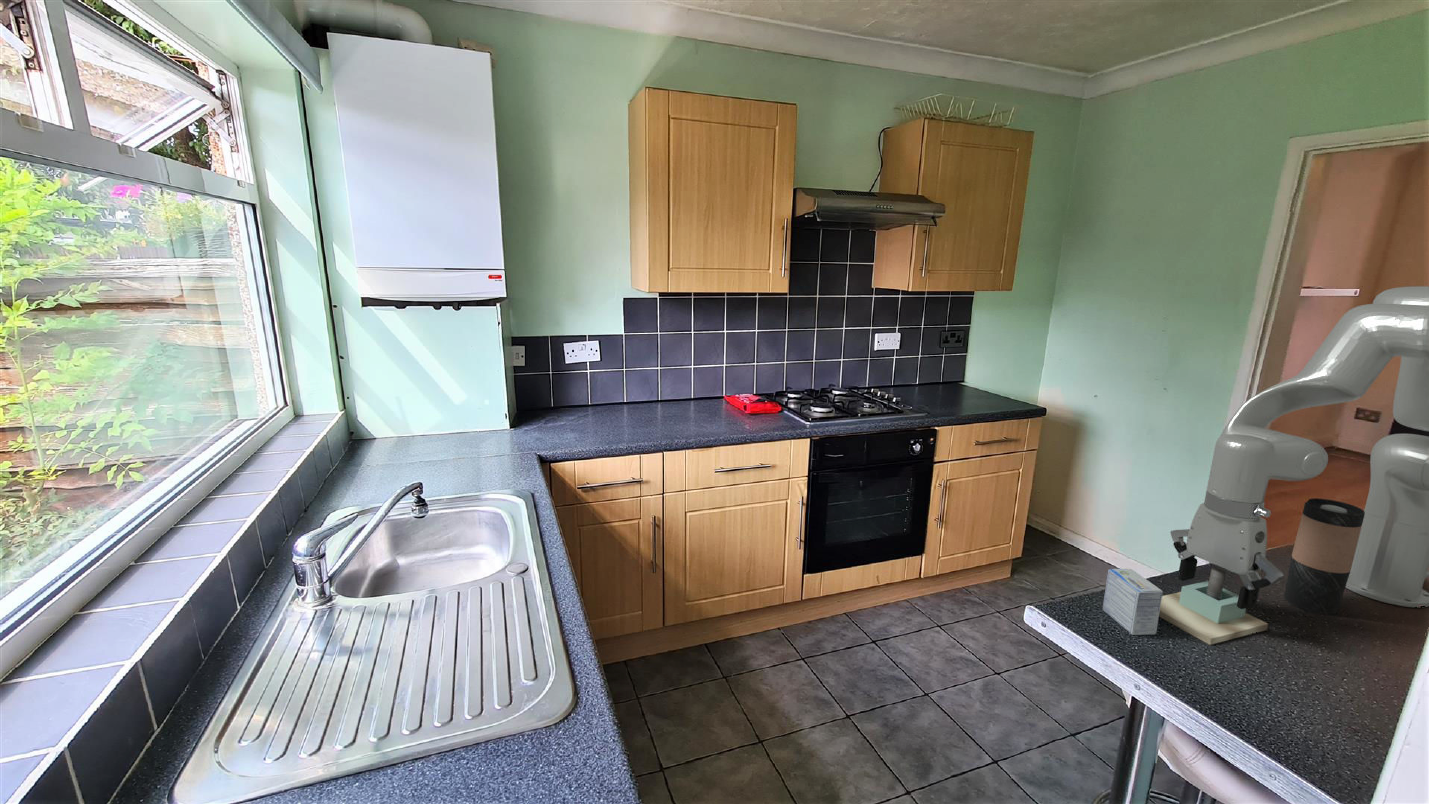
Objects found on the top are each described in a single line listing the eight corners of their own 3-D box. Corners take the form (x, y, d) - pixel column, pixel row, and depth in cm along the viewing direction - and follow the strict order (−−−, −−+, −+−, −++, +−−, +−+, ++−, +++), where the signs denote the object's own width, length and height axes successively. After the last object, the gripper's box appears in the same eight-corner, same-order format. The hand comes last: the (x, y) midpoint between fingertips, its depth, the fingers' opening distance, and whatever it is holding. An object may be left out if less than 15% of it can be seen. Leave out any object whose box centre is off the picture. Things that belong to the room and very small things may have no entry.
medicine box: (1156, 635, 100) (1164, 591, 98) (1131, 636, 100) (1139, 591, 98) (1124, 609, 108) (1131, 567, 106) (1101, 609, 108) (1107, 568, 106)
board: (1194, 593, 112) (1202, 551, 110) (1266, 629, 101) (1277, 582, 99) (1140, 606, 108) (1148, 562, 106) (1209, 644, 97) (1220, 596, 95)
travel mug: (1351, 618, 104) (1379, 516, 100) (1301, 613, 106) (1326, 513, 101) (1317, 595, 111) (1342, 499, 107) (1271, 591, 113) (1293, 496, 108)
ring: (1204, 597, 109) (1207, 580, 108) (1244, 617, 103) (1247, 599, 102) (1178, 603, 107) (1182, 586, 106) (1217, 623, 101) (1221, 605, 100)
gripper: (1308, 522, 93) (1286, 615, 97) (1195, 485, 110) (1179, 566, 113) (1277, 528, 91) (1255, 623, 95) (1166, 489, 107) (1151, 572, 111)
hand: (1214, 592), depth 104 cm, fingers open, 9 cm apart
